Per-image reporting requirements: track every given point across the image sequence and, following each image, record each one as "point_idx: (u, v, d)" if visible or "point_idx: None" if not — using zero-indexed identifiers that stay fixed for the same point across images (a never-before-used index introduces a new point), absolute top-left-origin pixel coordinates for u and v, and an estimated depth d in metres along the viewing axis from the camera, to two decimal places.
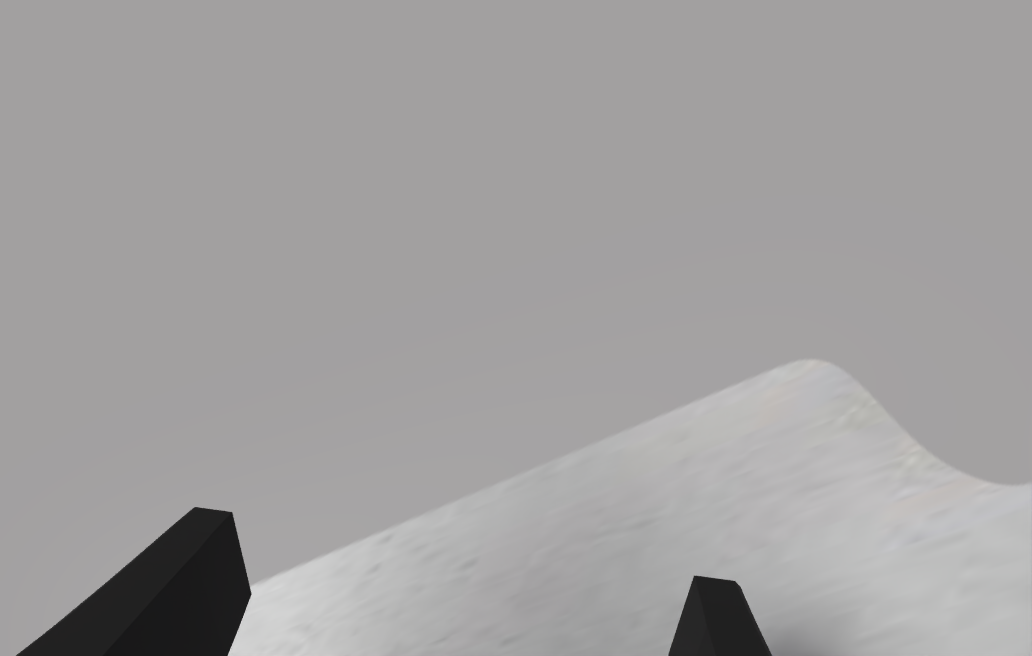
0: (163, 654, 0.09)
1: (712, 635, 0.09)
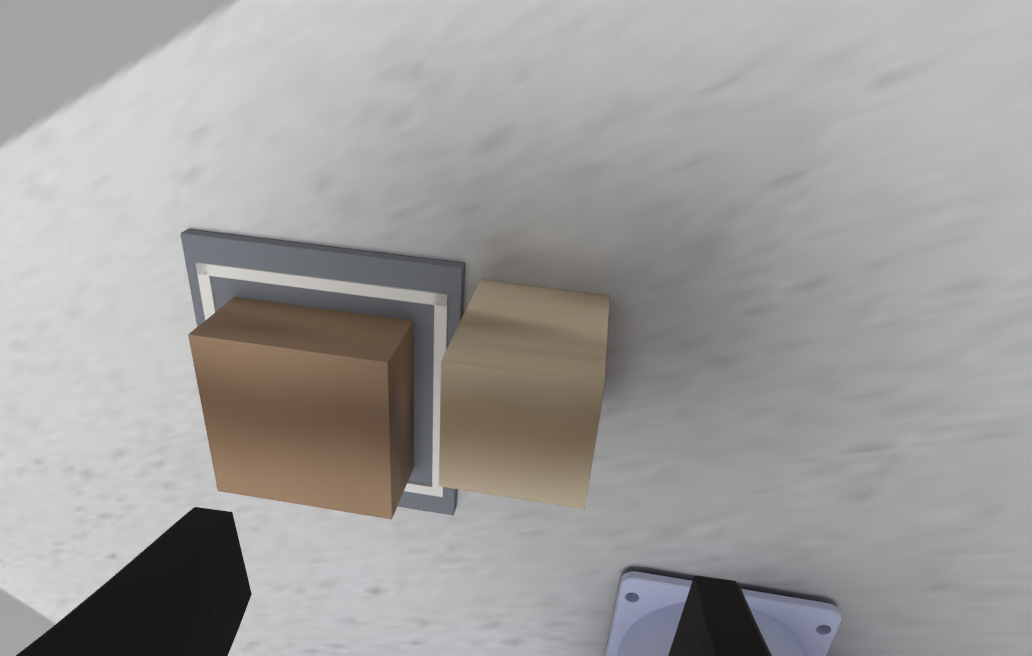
0: (163, 655, 0.09)
1: (712, 635, 0.09)
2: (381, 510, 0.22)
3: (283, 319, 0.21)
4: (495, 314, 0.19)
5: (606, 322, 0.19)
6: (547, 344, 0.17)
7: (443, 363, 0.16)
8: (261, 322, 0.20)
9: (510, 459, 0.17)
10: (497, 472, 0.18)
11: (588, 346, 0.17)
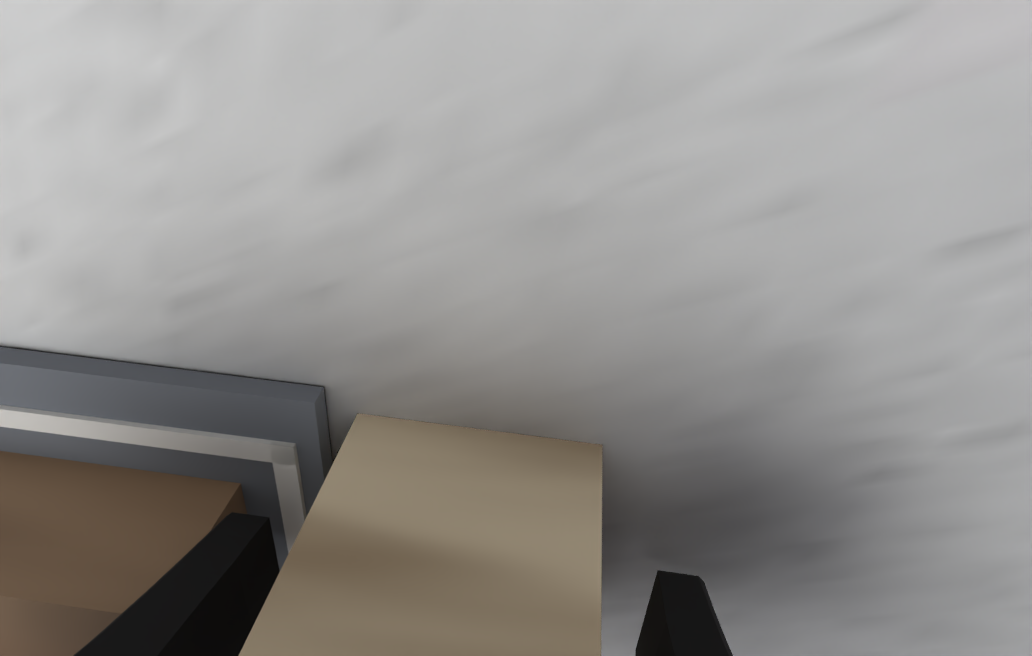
0: None
1: (671, 629, 0.09)
2: None
3: None
4: (371, 523, 0.09)
5: (598, 531, 0.09)
6: (470, 624, 0.08)
7: None
8: None
9: None
10: None
11: (561, 624, 0.08)
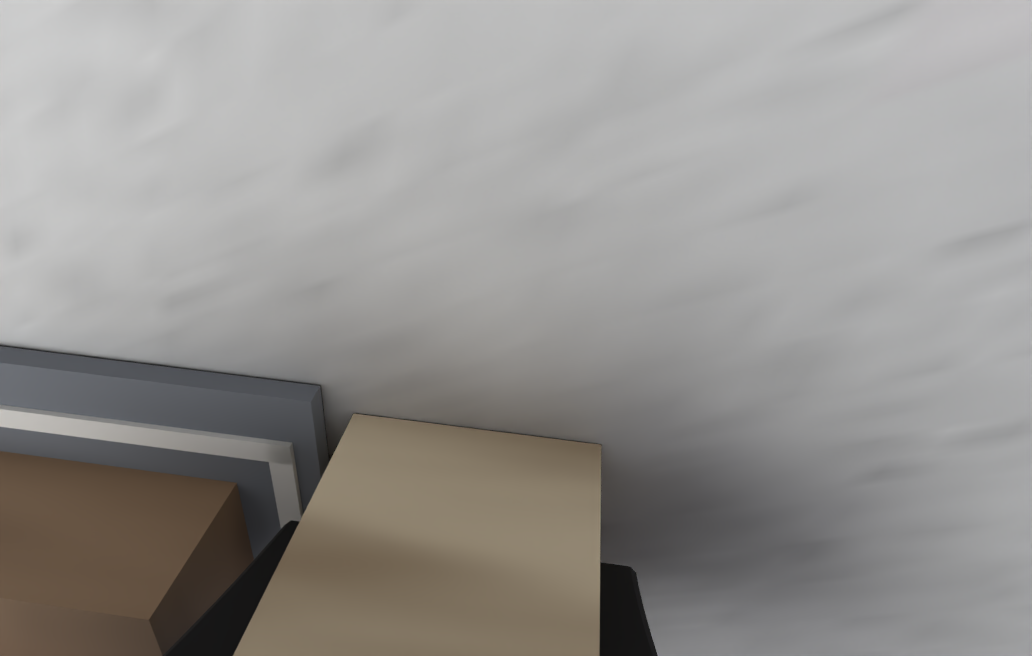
0: None
1: None
2: None
3: None
4: (364, 526, 0.09)
5: (597, 534, 0.09)
6: (465, 630, 0.08)
7: None
8: None
9: None
10: None
11: (557, 630, 0.08)
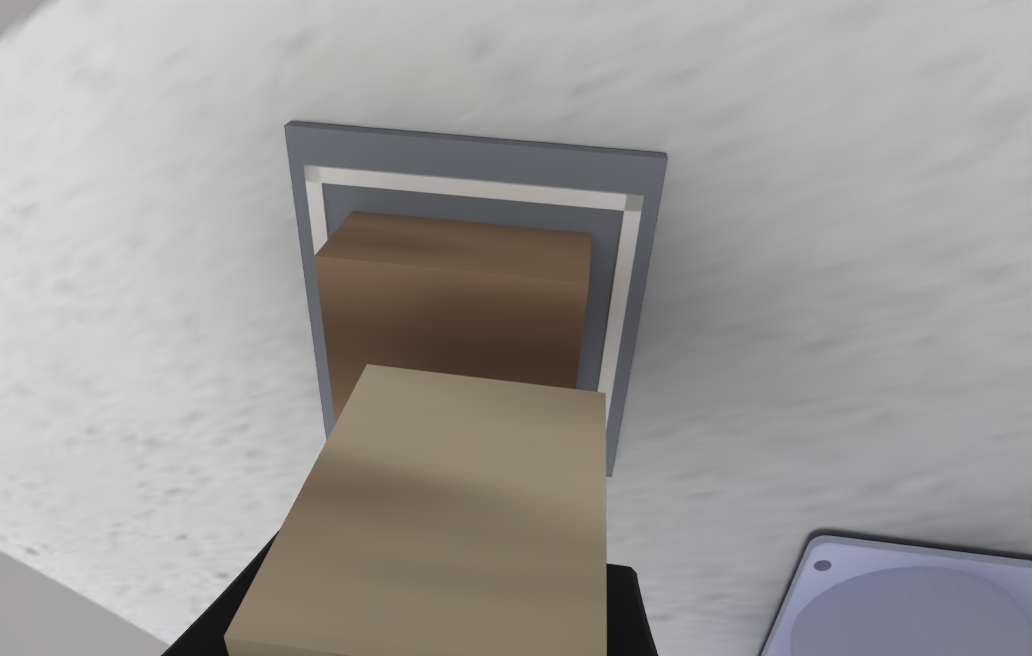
0: None
1: None
2: None
3: (428, 235, 0.16)
4: (381, 461, 0.09)
5: (602, 469, 0.09)
6: (479, 549, 0.08)
7: (230, 639, 0.07)
8: (401, 239, 0.16)
9: None
10: None
11: (567, 550, 0.08)
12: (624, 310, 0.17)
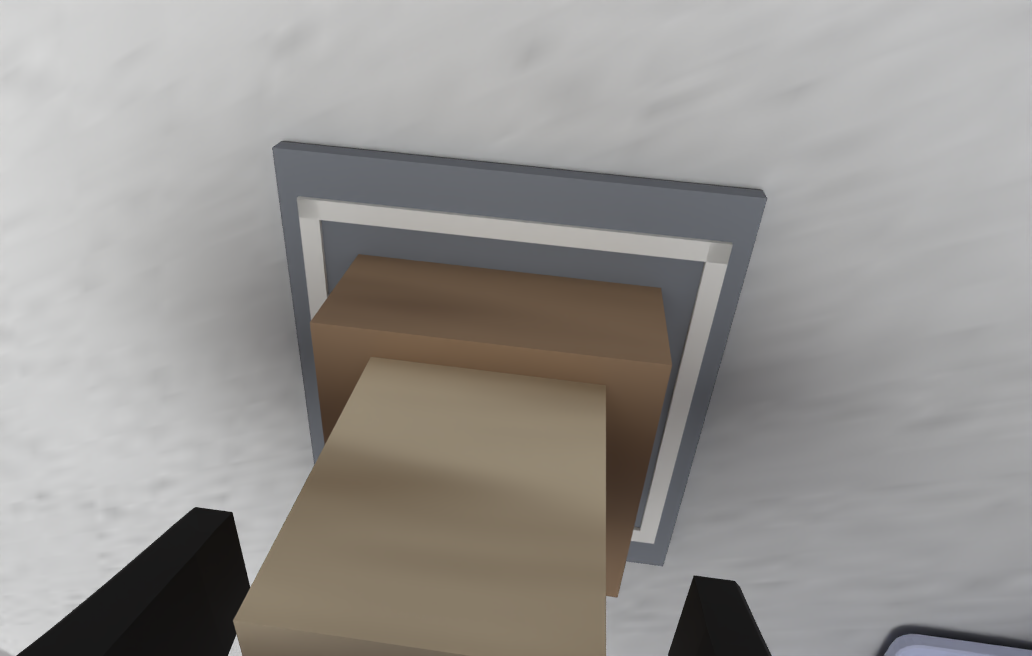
0: (163, 655, 0.09)
1: (711, 635, 0.09)
2: None
3: (455, 290, 0.12)
4: (385, 451, 0.09)
5: (602, 459, 0.10)
6: (481, 537, 0.08)
7: (239, 623, 0.07)
8: (422, 297, 0.12)
9: None
10: None
11: (567, 538, 0.08)
12: (695, 380, 0.14)
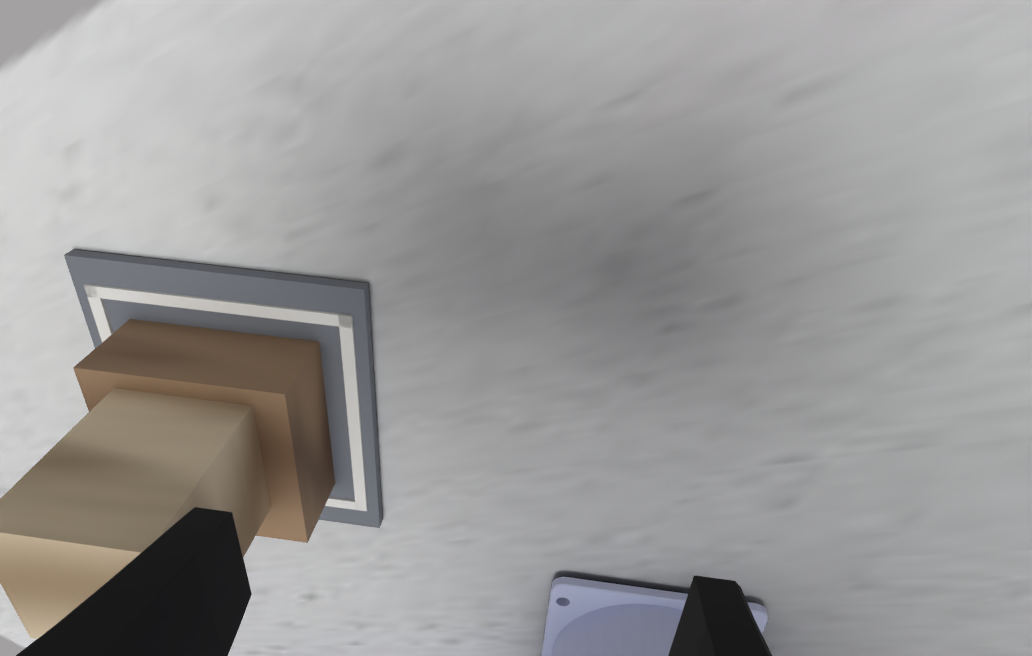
0: (162, 654, 0.09)
1: (712, 635, 0.09)
2: (296, 534, 0.21)
3: (179, 345, 0.20)
4: (92, 445, 0.17)
5: (219, 450, 0.17)
6: (122, 490, 0.16)
7: None
8: (155, 349, 0.19)
9: None
10: None
11: (170, 491, 0.16)
12: (358, 399, 0.21)
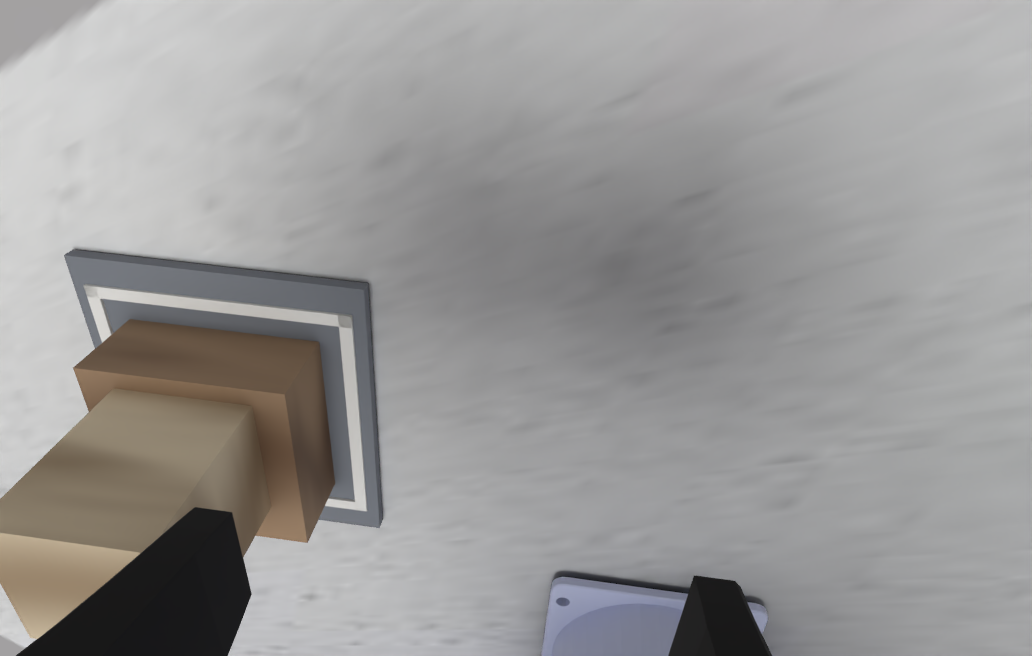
0: (163, 654, 0.09)
1: (712, 635, 0.09)
2: (295, 534, 0.21)
3: (179, 345, 0.20)
4: (92, 445, 0.17)
5: (218, 450, 0.17)
6: (122, 490, 0.16)
7: None
8: (155, 350, 0.19)
9: None
10: None
11: (170, 491, 0.16)
12: (358, 399, 0.21)
